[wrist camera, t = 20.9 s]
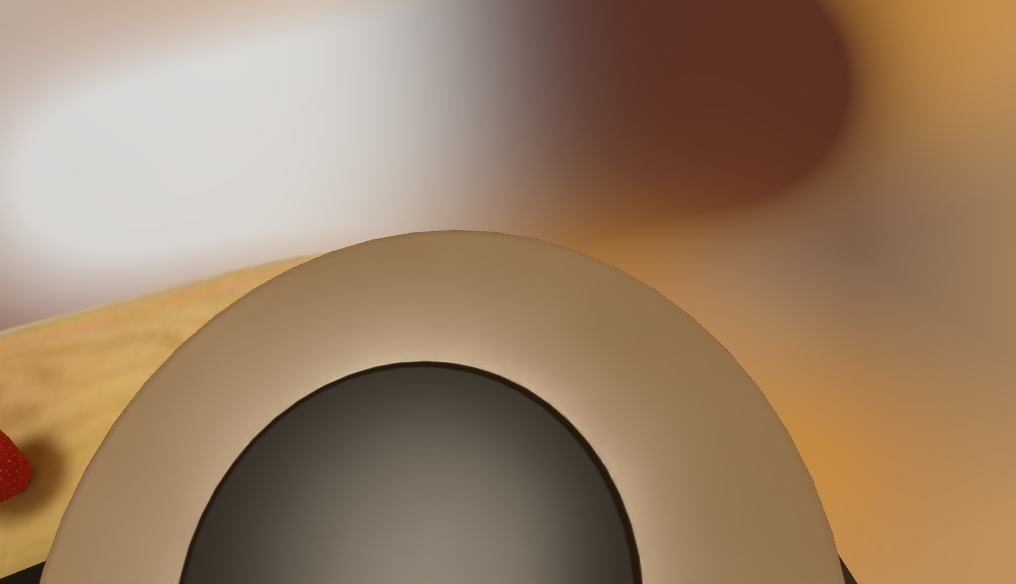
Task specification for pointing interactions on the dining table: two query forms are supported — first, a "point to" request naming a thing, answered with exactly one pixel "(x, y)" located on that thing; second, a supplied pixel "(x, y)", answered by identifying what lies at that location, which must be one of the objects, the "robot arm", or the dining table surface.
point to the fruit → (12, 469)
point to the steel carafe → (447, 436)
